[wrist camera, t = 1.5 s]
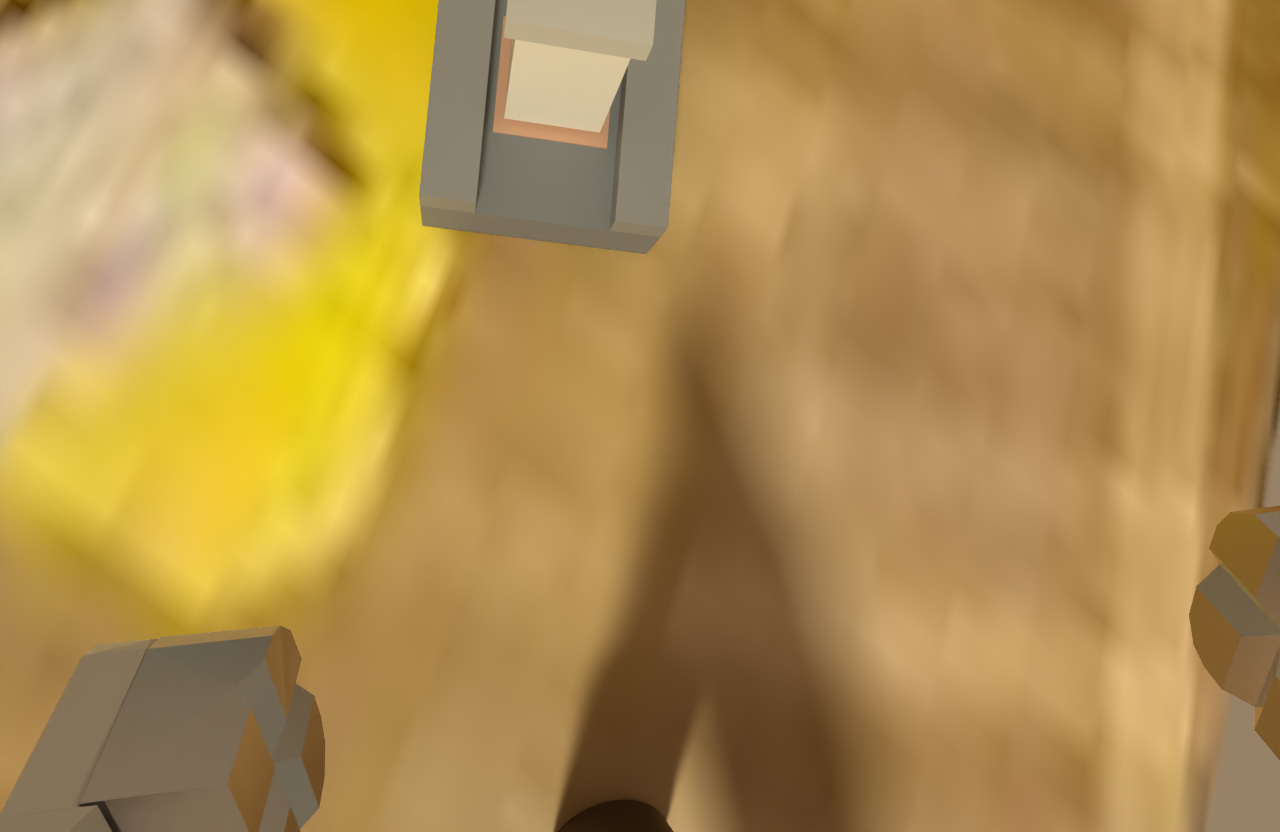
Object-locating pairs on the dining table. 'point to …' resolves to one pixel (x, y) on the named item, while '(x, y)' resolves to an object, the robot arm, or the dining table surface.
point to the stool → (618, 818)
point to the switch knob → (572, 57)
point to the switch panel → (547, 143)
